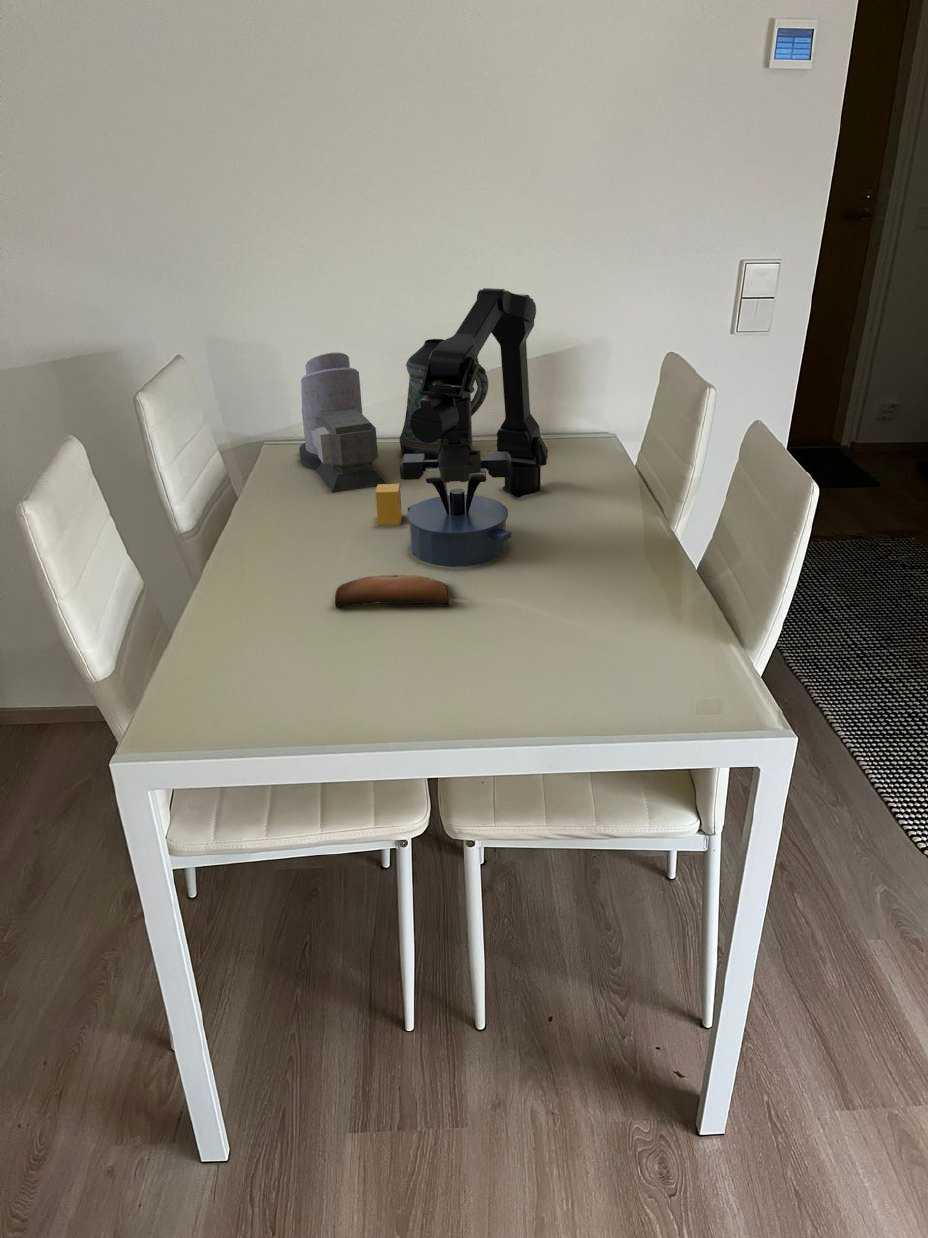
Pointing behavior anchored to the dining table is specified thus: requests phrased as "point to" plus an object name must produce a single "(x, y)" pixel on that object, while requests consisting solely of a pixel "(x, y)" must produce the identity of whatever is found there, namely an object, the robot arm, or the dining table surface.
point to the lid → (457, 515)
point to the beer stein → (416, 374)
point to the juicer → (337, 425)
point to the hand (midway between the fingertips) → (457, 512)
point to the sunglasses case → (391, 590)
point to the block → (388, 504)
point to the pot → (458, 546)
